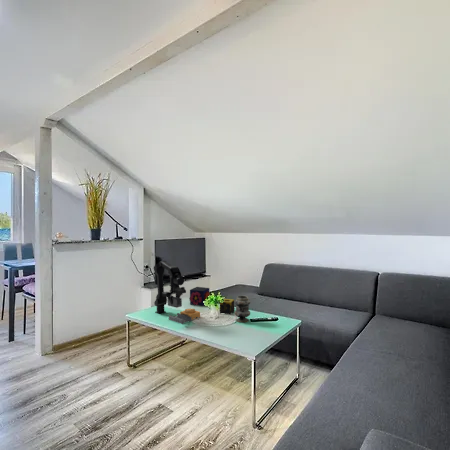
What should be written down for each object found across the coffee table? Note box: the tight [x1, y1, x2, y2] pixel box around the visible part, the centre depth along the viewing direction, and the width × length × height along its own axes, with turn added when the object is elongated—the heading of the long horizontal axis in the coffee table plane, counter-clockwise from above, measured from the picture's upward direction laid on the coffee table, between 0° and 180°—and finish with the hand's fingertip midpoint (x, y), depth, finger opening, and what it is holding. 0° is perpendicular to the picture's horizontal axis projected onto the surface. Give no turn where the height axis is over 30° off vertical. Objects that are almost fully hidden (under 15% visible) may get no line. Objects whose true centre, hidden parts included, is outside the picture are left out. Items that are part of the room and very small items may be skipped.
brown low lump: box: [179, 307, 201, 320], centre depth 237 cm, size 12×10×6 cm
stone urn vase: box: [233, 295, 251, 323], centre depth 227 cm, size 12×12×18 cm
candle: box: [219, 298, 236, 315], centre depth 248 cm, size 10×10×10 cm
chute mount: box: [168, 312, 193, 325], centre depth 230 cm, size 16×10×3 cm, turn 48°
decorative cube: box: [189, 286, 211, 307], centre depth 276 cm, size 16×16×14 cm
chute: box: [167, 296, 183, 309], centre depth 231 cm, size 11×5×6 cm, turn 47°
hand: (174, 303), depth 231 cm, fingers closed on chute, 5 cm apart
